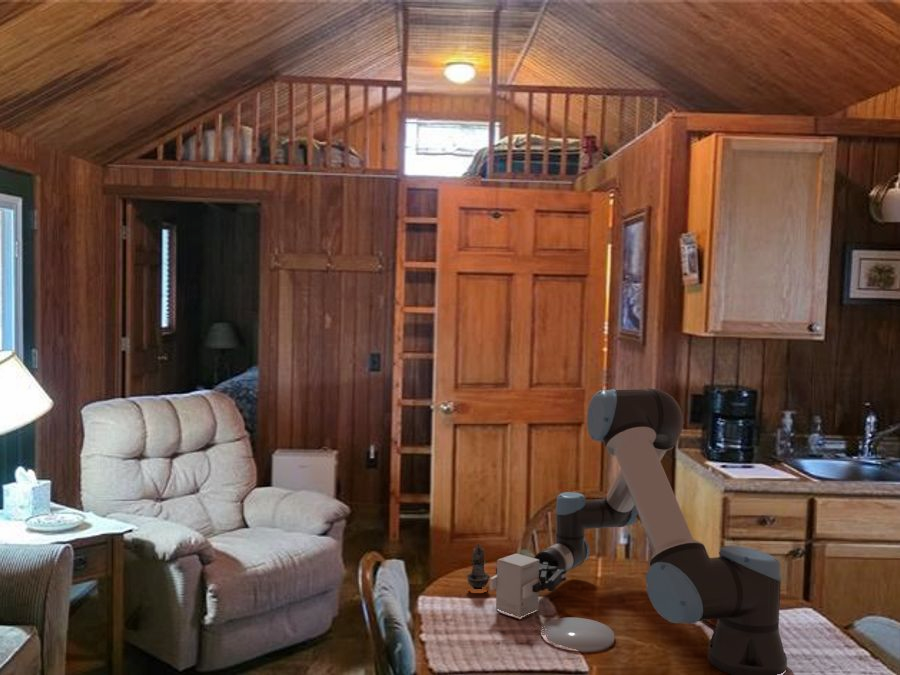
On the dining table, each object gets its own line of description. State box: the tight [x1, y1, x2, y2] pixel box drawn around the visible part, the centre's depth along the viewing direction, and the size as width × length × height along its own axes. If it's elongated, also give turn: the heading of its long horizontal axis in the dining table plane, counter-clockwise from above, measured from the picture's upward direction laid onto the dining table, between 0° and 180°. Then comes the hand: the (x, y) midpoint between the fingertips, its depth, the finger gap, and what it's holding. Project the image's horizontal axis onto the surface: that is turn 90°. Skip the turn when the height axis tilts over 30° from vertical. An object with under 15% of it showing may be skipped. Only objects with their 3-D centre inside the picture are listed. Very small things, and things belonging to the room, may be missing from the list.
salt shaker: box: [466, 543, 491, 589], centre depth 201 cm, size 6×6×12 cm
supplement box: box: [495, 553, 540, 617], centre depth 187 cm, size 7×7×13 cm
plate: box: [540, 616, 615, 653], centre depth 174 cm, size 16×16×1 cm
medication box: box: [518, 548, 536, 558], centre depth 218 cm, size 12×3×4 cm, turn 14°
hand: (507, 588), depth 183 cm, fingers closed on supplement box, 8 cm apart
